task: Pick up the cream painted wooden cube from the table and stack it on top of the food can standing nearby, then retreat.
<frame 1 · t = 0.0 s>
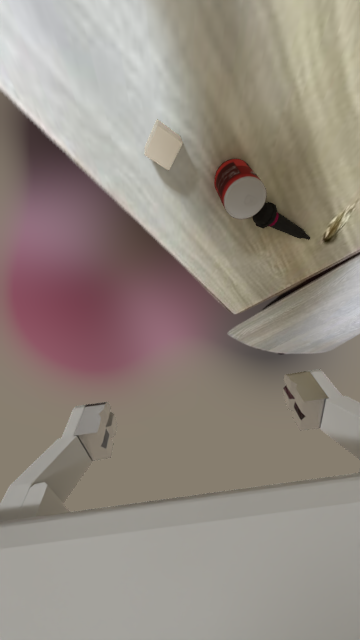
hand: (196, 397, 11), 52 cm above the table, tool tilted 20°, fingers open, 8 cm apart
cream cube: (162, 141, 47), on the table
microphone: (279, 223, 63), on the table
canned food: (231, 177, 53), on the table
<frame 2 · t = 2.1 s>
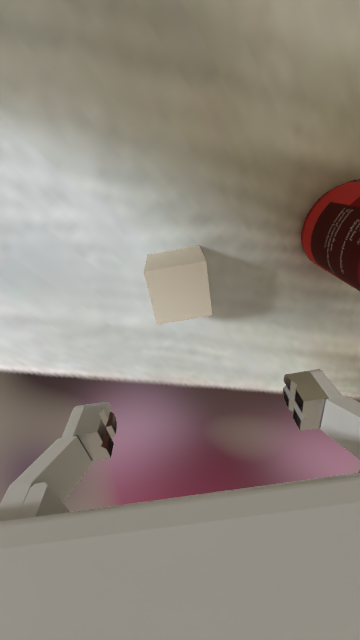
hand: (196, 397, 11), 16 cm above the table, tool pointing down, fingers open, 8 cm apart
cream cube: (177, 274, 25), on the table
canned food: (339, 225, 24), on the table
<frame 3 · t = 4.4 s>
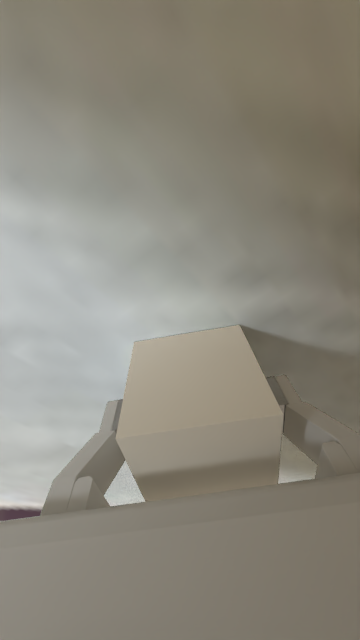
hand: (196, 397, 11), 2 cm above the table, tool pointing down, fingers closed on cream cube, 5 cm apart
cream cube: (193, 372, 13), on the table, touching gripper
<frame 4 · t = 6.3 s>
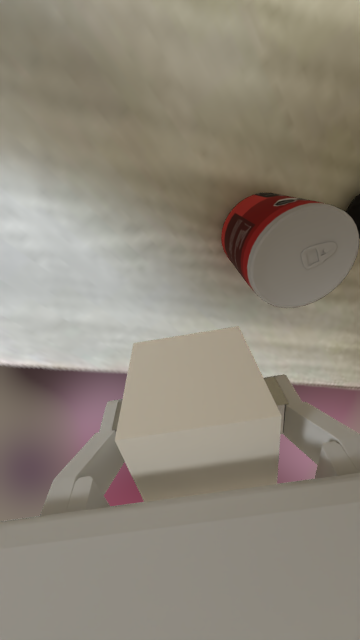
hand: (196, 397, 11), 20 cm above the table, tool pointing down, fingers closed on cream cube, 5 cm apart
cream cube: (192, 374, 13), point 18 cm above the table, touching gripper
canned food: (254, 230, 28), on the table
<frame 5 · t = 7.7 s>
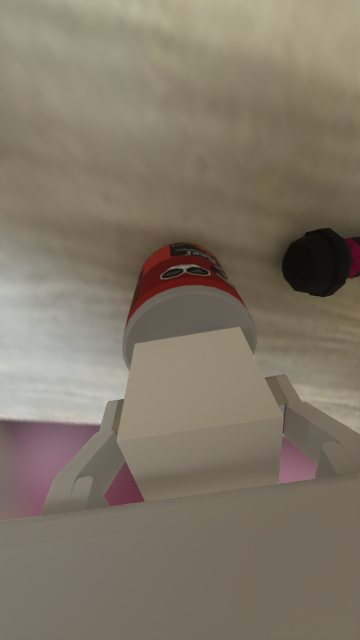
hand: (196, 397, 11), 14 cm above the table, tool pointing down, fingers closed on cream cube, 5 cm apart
cream cube: (193, 374, 13), point 13 cm above the table, touching gripper
canned food: (180, 280, 24), on the table
when the fingers open (14 cm above the table, at t = 8.6 s): cream cube drops 1 cm, resting on canned food.
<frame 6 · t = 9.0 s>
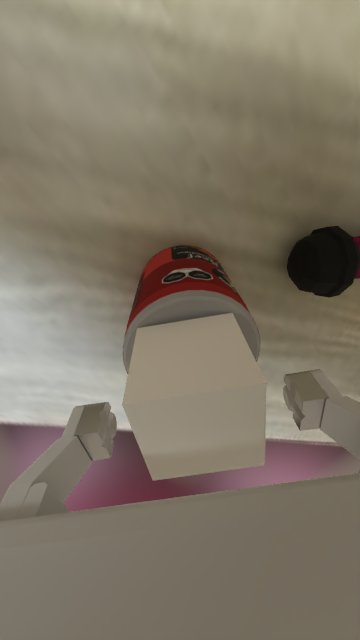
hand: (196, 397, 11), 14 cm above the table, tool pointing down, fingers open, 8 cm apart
cream cube: (191, 357, 14), point 11 cm above the table, touching canned food
canned food: (181, 283, 24), on the table, touching cream cube
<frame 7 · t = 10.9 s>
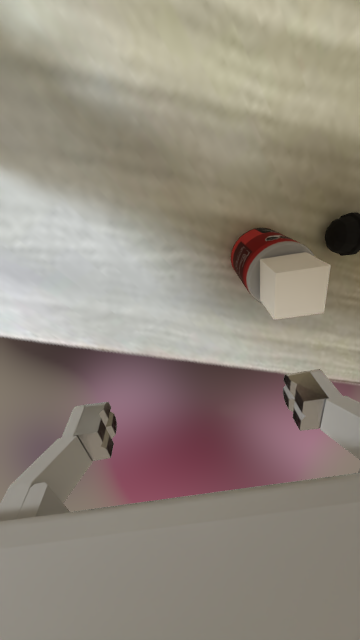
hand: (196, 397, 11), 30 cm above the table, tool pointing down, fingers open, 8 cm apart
cream cube: (281, 277, 29), point 11 cm above the table, touching canned food
canned food: (255, 252, 38), on the table, touching cream cube
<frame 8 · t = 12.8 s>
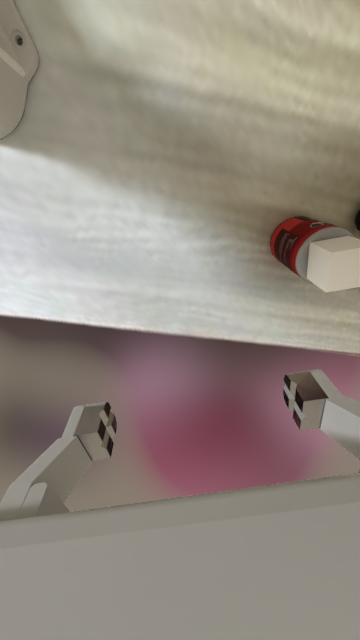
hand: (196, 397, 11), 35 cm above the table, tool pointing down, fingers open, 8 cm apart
cream cube: (326, 257, 34), point 11 cm above the table, touching canned food
canned food: (291, 239, 43), on the table, touching cream cube
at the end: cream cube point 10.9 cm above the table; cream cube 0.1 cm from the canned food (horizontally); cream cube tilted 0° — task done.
